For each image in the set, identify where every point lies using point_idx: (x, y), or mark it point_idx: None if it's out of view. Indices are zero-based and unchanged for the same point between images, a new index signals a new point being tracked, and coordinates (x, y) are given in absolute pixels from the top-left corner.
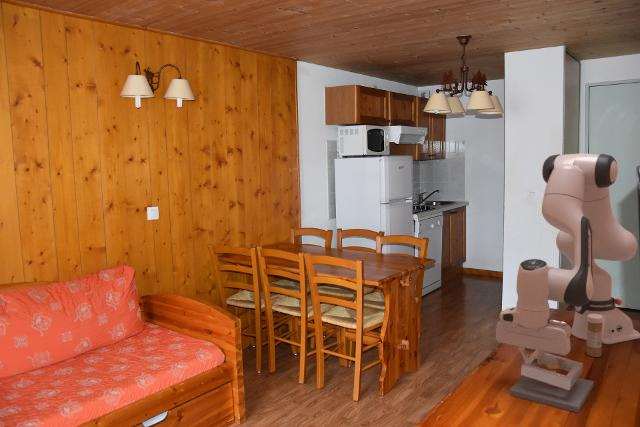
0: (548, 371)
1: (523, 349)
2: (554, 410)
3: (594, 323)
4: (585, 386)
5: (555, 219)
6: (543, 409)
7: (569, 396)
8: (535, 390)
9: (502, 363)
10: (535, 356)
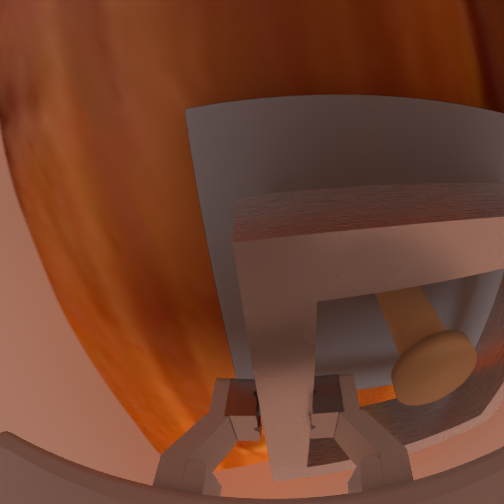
0: (409, 447)
1: (217, 489)
2: None
3: None
4: None
5: None
6: (372, 392)
7: (458, 327)
8: (332, 360)
9: (46, 125)
10: (311, 417)
